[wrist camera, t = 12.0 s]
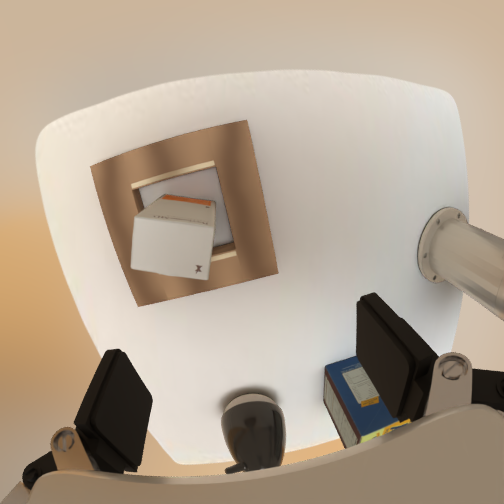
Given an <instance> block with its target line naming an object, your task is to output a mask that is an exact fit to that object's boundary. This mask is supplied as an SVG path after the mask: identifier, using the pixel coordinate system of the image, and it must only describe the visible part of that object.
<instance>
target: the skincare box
mask: <svg viewBox="0 0 504 504" xmlns="http://www.w3.org/2000/svg"><path fill="white" fill-rule="evenodd" d="M215 215H216V202H215V201H208V200H201V199H193V198H186V197H180V196H174V195H168V194H164V195H163V196H161V197H160V198H159V199H157V200H156V201H154V202H153V203H152V204H151V205H149V206H148V207H146V208H145V209H144V210H143V211H141V212H140V213H139V214H137V215H136V216H135V217H134V226H133V237H132V250H131V268H132V269H135V270H141V271H147V272H153V273H158V274H162V275H167V276H178V277H185V278H193V279H200V280H208V279H209V271H210V263H211V256H212V249H213V242H214V235H215V218H216V217H215Z"/></svg>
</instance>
